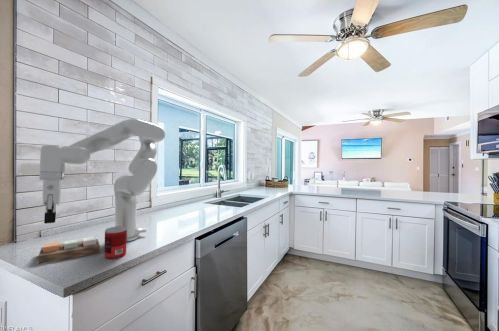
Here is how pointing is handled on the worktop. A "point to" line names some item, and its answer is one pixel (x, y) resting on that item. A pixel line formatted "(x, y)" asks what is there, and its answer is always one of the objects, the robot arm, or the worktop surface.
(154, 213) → the worktop surface
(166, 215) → the worktop surface
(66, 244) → the sage key
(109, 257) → the canned food
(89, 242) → the ivory key
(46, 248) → the terracotta key
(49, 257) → the key panel
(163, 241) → the worktop surface
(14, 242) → the worktop surface
